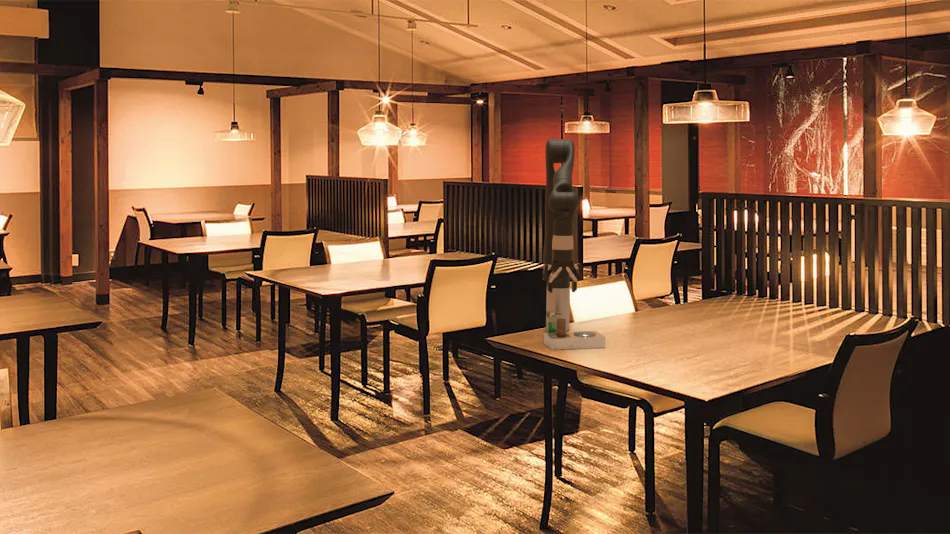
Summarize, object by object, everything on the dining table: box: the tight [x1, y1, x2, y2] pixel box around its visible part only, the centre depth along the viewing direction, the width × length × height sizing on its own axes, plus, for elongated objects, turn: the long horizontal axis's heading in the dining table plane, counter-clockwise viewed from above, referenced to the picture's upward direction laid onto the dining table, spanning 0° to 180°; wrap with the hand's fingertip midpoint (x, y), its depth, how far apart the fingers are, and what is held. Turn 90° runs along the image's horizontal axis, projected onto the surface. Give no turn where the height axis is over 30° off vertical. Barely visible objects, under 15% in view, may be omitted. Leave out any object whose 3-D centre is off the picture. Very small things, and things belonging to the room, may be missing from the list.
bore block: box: [543, 330, 606, 351], centre depth 315 cm, size 11×20×4 cm, turn 100°
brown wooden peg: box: [557, 318, 567, 337], centre depth 314 cm, size 5×5×10 cm
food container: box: [545, 311, 564, 333], centre depth 325 cm, size 12×6×10 cm, turn 179°
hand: (562, 292), depth 312 cm, fingers open, 8 cm apart
